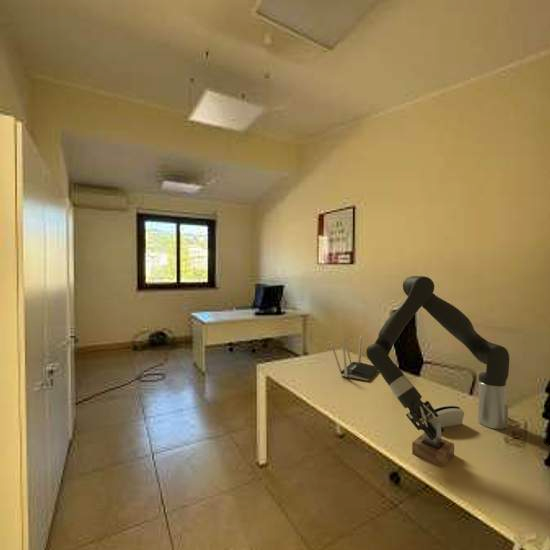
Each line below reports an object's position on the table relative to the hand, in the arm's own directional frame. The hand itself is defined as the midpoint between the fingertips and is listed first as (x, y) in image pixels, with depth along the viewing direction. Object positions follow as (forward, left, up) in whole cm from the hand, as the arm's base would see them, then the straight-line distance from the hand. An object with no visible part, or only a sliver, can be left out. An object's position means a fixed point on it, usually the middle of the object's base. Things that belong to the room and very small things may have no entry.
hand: (438, 435), depth 109 cm
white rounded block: (-10, -23, -8) cm, 26 cm away
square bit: (+1, -1, -7) cm, 8 cm away
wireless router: (+19, -84, -8) cm, 87 cm away
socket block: (+1, -1, -7) cm, 8 cm away
